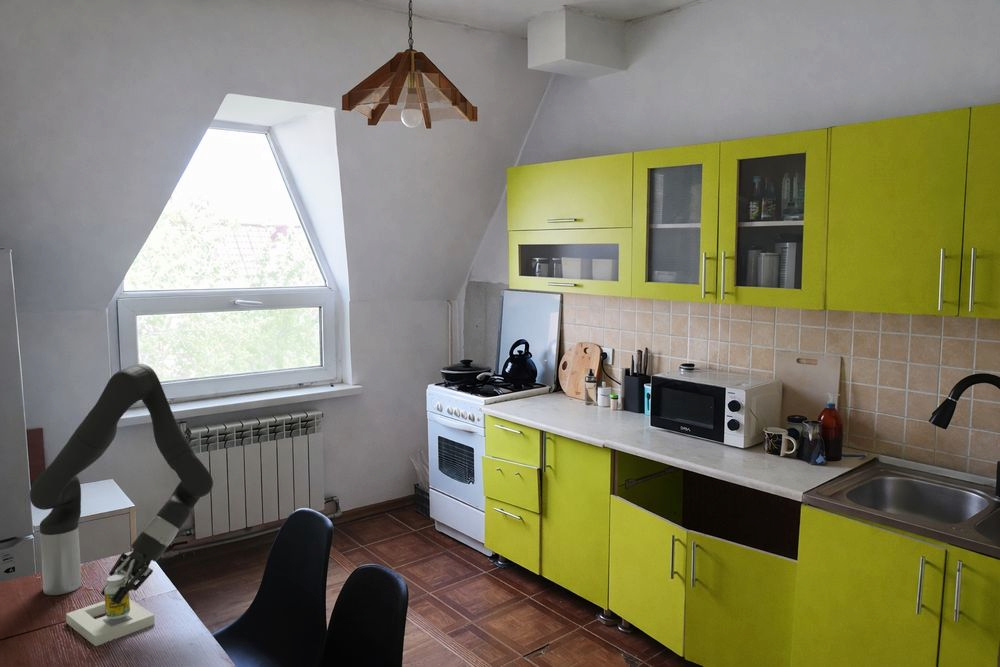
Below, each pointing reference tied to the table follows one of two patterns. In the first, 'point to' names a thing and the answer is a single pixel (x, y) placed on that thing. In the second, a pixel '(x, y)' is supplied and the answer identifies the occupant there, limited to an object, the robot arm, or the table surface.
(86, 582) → the table surface
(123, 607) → the supplement bottle
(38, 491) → the robot arm
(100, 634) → the socket dock
